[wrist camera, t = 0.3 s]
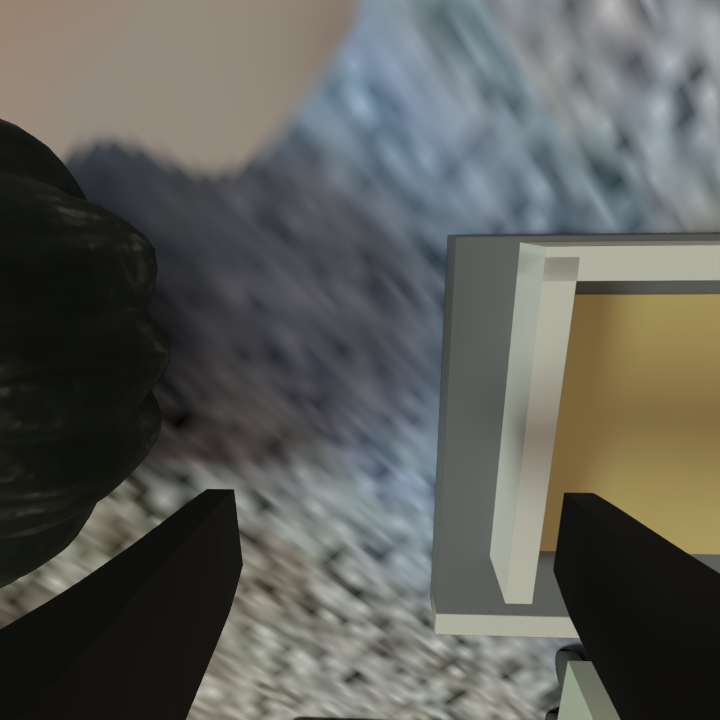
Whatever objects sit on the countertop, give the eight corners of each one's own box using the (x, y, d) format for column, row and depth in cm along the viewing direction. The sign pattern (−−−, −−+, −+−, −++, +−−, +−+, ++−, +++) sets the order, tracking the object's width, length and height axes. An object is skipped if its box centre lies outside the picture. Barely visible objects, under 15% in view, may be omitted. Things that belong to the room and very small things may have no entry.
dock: (752, 606, 22) (842, 699, 18) (430, 598, 23) (442, 686, 18) (877, 230, 17) (1051, 235, 12) (447, 235, 17) (470, 240, 13)
